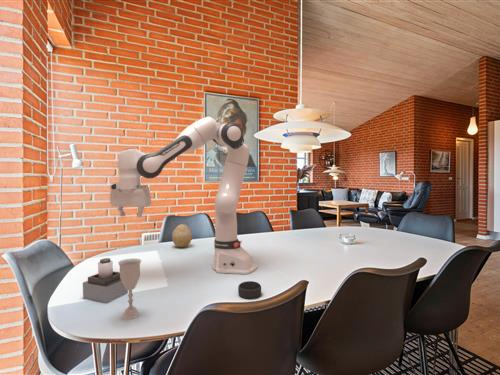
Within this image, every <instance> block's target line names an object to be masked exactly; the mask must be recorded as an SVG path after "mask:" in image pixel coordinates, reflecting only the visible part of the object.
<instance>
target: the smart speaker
mask: <svg viewBox="0 0 500 375" xmlns="http://www.w3.org/2000/svg"><path fill="white" fill-rule="evenodd" d="M237 293H238V296H239V297H241V298H242V299H247V300H249V299H250V300H251V299H257V298H259V297H260V296H261V295H262V286H261V284H260V283H259V282H257V281H249V280H248V281H243V282H240V283H239V284H238V287H237Z"/></svg>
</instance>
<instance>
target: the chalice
mask: <svg viewBox="0 0 500 375" xmlns="http://www.w3.org/2000/svg"><path fill="white" fill-rule="evenodd" d="M141 262H142V259H140V258H126V259H121V260H119V261H118V262H117V265H119V272H120V279H121V281H122V283H123V285H124V287H125V288H126V289H127V290H128V295H127V297H128V300H127V302H128V307H127V308H125V310H124V312H123V315H122V318H123V319H124V320H131V319H135V318H137V317H139V315H140V312H139V311H138V308H137V307H136V306H133V302H134V299H133V297H134V294H133V290H135V289H136V286H137V284H138V282H139V280H140V276H141Z"/></svg>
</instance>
